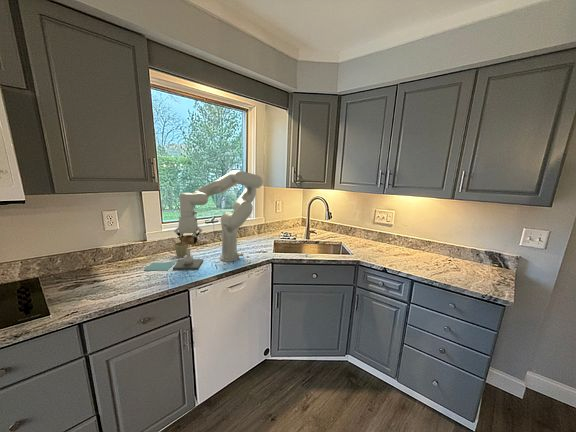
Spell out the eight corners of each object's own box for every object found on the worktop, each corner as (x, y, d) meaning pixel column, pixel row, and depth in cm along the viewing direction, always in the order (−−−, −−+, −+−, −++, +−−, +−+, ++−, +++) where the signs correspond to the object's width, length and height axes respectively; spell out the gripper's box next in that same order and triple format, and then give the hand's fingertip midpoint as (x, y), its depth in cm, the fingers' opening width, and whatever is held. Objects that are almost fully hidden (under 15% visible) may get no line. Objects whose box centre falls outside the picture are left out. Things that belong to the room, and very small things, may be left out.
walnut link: (196, 241, 149) (195, 234, 148) (193, 244, 142) (193, 237, 141) (184, 241, 148) (184, 235, 147) (181, 244, 141) (181, 238, 141)
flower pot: (170, 257, 160) (170, 244, 158) (181, 253, 168) (180, 241, 167) (182, 259, 157) (181, 246, 155) (192, 255, 165) (191, 243, 164)
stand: (203, 261, 155) (202, 245, 153) (198, 269, 141) (197, 252, 139) (180, 261, 153) (179, 245, 151) (172, 270, 139) (172, 252, 138)
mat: (174, 262, 150) (174, 262, 150) (167, 270, 139) (167, 269, 138) (152, 263, 148) (152, 262, 148) (143, 270, 137) (143, 270, 137)
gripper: (204, 212, 147) (205, 241, 150) (174, 212, 144) (175, 241, 148) (201, 215, 139) (202, 244, 143) (169, 215, 137) (171, 245, 140)
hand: (189, 243), depth 145 cm, fingers closed on walnut link, 6 cm apart
